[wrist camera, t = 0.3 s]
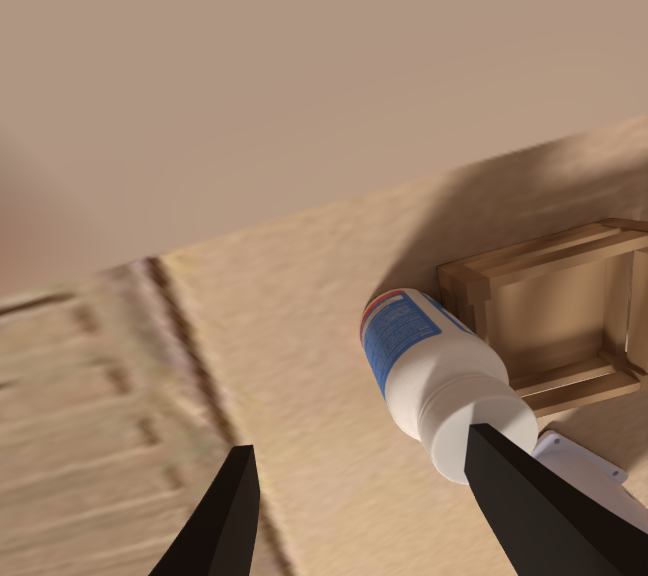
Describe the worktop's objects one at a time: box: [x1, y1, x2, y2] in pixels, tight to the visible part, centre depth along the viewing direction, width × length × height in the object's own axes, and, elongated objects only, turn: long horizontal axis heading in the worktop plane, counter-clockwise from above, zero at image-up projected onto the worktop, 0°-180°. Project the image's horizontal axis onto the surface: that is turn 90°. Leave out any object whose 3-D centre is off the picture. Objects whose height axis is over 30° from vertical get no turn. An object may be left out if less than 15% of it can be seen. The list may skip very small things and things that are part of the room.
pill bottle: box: [359, 288, 539, 485], centre depth 16 cm, size 6×5×10 cm
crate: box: [437, 218, 648, 418], centre depth 19 cm, size 11×10×4 cm
